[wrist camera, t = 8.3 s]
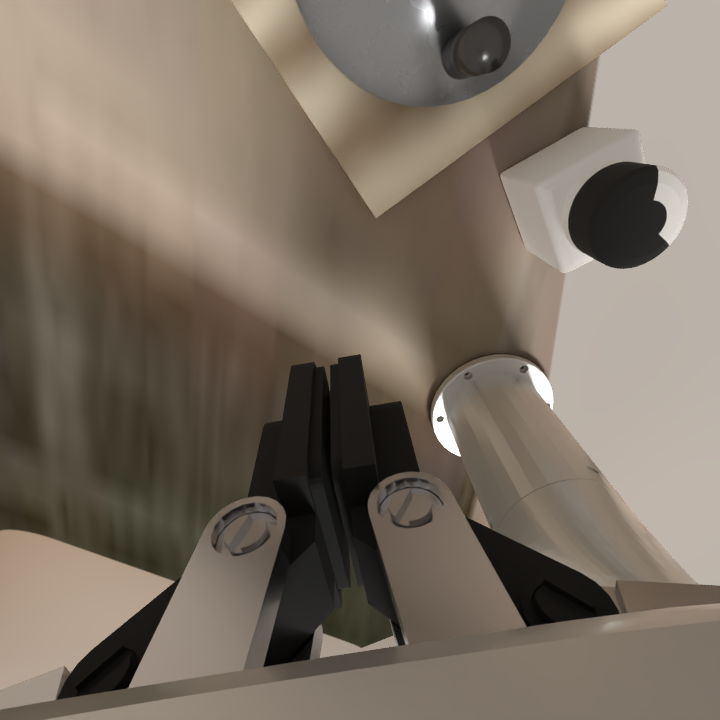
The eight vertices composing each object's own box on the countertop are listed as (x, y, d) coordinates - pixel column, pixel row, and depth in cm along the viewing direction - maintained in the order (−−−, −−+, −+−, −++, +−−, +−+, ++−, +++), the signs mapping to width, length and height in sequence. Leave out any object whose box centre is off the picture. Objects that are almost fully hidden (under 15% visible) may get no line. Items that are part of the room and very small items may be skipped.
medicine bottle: (525, 250, 39) (601, 300, 29) (497, 173, 36) (571, 198, 25) (604, 208, 38) (713, 244, 27) (583, 124, 35) (698, 129, 24)
